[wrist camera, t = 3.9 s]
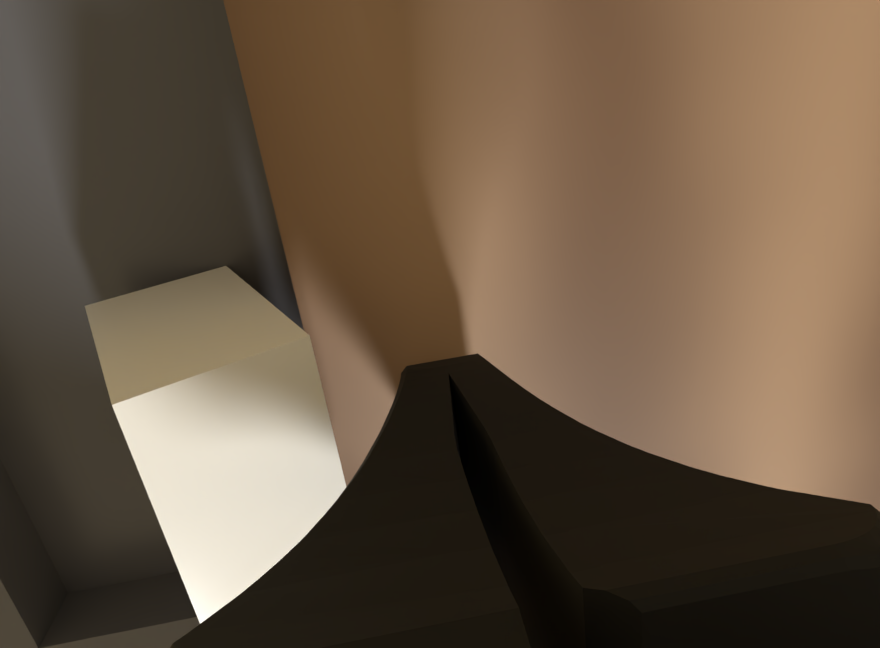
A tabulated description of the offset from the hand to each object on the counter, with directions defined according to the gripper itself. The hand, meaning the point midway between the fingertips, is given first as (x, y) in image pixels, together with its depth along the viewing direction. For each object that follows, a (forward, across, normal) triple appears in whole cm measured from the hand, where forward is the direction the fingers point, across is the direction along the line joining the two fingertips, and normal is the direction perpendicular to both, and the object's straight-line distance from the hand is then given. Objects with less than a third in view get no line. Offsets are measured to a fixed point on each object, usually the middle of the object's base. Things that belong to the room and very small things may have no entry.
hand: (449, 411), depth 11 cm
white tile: (+1, +3, 0) cm, 3 cm away
